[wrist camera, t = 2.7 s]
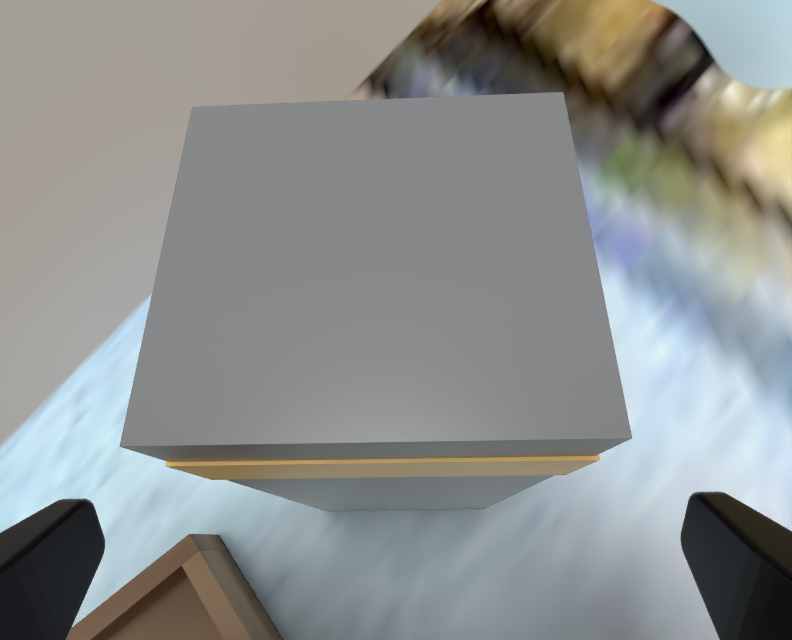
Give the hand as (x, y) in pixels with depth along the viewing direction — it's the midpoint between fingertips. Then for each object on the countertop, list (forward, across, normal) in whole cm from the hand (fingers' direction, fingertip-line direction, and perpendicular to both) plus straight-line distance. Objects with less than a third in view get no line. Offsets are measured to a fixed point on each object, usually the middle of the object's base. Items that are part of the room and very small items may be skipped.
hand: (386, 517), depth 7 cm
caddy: (+10, 0, +5) cm, 11 cm away
